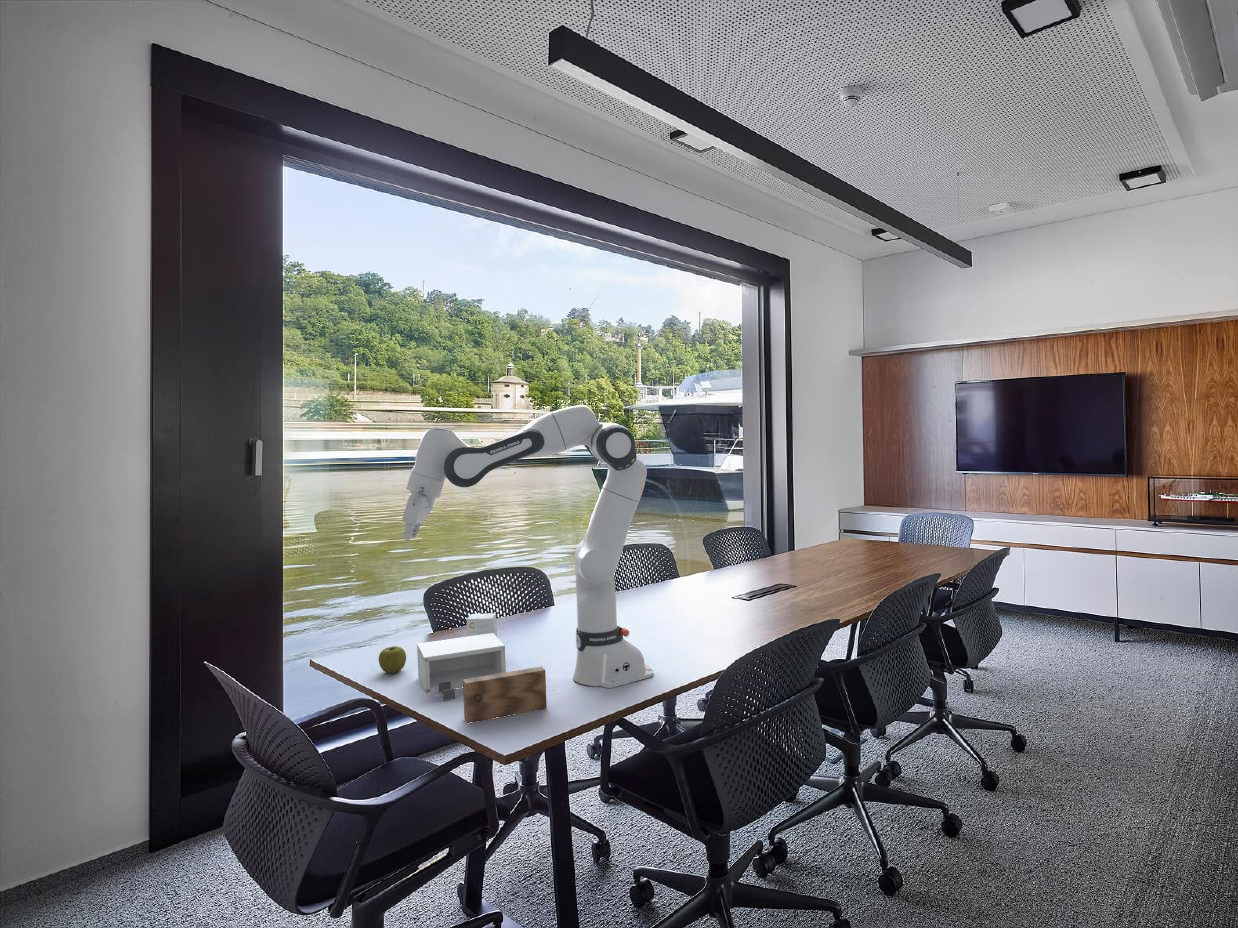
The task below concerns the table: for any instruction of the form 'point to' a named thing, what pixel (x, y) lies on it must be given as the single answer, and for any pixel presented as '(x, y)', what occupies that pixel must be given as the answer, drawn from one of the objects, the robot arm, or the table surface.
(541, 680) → the door
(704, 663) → the table surface
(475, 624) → the small box
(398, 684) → the table surface
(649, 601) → the table surface
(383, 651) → the apple
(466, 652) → the cabinet
